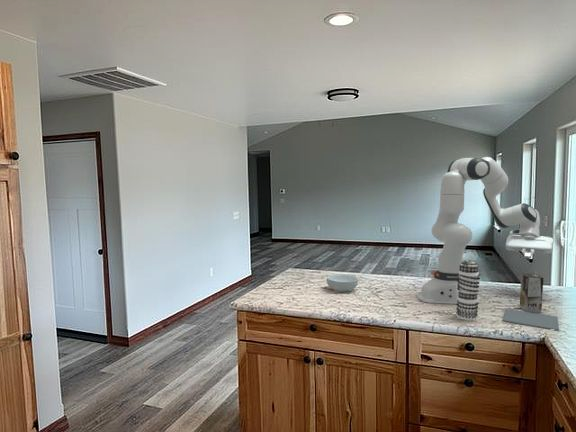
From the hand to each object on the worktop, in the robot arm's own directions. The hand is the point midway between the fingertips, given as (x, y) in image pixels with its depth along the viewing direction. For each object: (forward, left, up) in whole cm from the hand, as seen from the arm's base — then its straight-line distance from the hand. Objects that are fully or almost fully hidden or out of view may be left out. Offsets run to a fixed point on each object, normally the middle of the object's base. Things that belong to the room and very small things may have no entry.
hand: (527, 257), depth 196 cm
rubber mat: (-16, -27, -22) cm, 38 cm away
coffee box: (-7, -14, -22) cm, 27 cm away
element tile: (-23, +34, -22) cm, 46 cm away
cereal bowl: (-88, +22, -22) cm, 94 cm away
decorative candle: (-41, -23, -22) cm, 52 cm away
